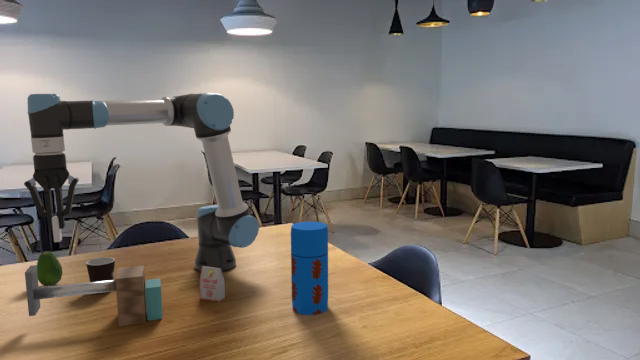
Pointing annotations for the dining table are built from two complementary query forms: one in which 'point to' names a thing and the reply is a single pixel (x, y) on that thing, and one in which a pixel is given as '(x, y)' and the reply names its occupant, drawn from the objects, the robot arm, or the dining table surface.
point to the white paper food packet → (211, 284)
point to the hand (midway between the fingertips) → (58, 240)
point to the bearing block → (131, 295)
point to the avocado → (48, 269)
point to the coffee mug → (101, 269)
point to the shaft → (59, 289)
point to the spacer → (153, 299)
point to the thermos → (309, 267)
